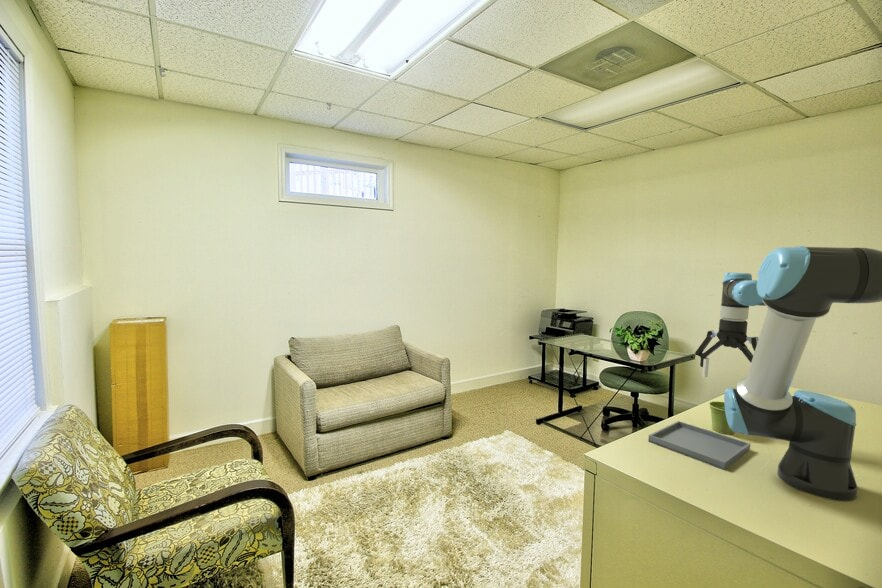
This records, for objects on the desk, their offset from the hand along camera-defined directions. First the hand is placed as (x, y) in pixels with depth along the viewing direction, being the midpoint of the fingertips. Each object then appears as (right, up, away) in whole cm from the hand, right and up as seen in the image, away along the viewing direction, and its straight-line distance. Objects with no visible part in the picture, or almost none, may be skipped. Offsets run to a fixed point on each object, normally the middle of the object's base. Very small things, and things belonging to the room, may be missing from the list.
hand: (727, 382), depth 136 cm
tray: (-17, -17, -11) cm, 26 cm away
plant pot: (-1, -17, +1) cm, 17 cm away
